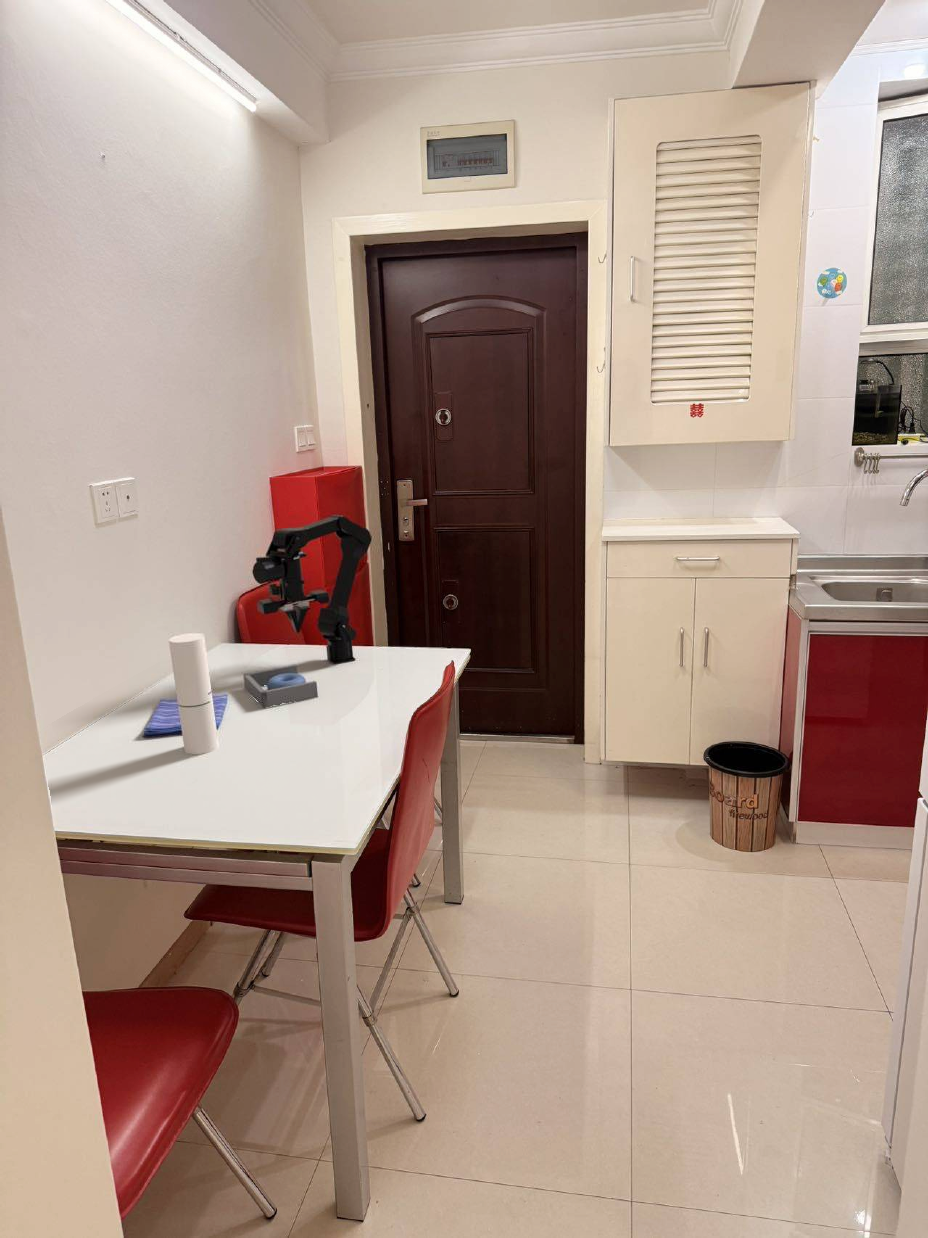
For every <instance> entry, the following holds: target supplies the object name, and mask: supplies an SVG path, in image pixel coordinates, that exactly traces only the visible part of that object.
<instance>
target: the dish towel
mask: <svg viewBox="0 0 928 1238" xmlns="http://www.w3.org/2000/svg"><path fill="white" fill-rule="evenodd" d="M228 697H229V696H228V694H219V695H212V699H213V707H214V714H215V722H216V729H217V730H219V728H220V725H221V723H222V721H223V717H224V714H225V710H226V706H227V702H228ZM157 703H158V704H157V706H156V710H155V711H154V713H153V715H152V717H151V718H150V720H149V722H148V723H147V725H146V726H145V727H144V730H145V731H144V732H143V734H142V737H143V738H146V739H148V738H149V739H150V738H159V737H168V736H177V735H182V728H181V722H180V715H179V708H178V701H177V699H165V698H163V699H159V701H158V702H157Z"/></svg>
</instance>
